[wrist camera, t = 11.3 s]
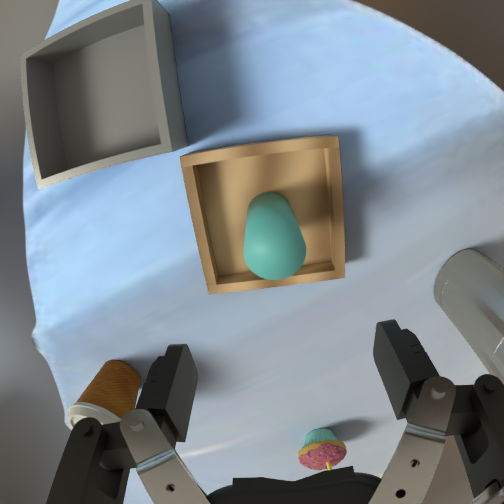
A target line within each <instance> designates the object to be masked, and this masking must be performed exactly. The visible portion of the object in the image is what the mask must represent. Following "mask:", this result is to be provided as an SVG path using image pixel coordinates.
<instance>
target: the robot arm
mask: <svg viewBox="0 0 504 504" xmlns="http://www.w3.org/2000/svg"><path fill="white" fill-rule="evenodd" d="M434 294H435V299H436V302H437V303H438V305H439V306H440V307H441V308H442V310H443V311H444V312H445V313H446V315H447V316H448V317H449V318H450V320H451V321H452V323H453V324H454V325H455V326H456V328H457V329H458V330H459V332H460V333H461V334H462V336H463V337H464V338H465V339H466V341H467V342H468V344H469V345H470V346H471V348H472V349H473V350H474V352H475V353H476V355H477V356H478V357H479V359H480V360H481V362H482V363H483V364H484V366H485V367H486V369H487V370H488V372H489V373H490V374H491V375H490V374H485V375H482V376H480V377H478V379H477V380H476V381H475V383H474V385H454V384H453V382H452V381H451V380H449V379H448V378H445V377H441V376H440V375H439V374H438V372H437V370H436V368H435V367H434V365H433V363H432V362H431V360H430V358H429V356H428V355H427V353H426V352H425V350H424V348H423V346H422V345H421V343H420V341H419V340H418V338H417V337H416V335H415V334H414V333H412V332H411V331H409V330H408V329H403V330H401V328H400V327H399V325H398V323H397V322H396V320H394V319H393V320H388V321H382V322H378V323H377V325H376V333H375V341H374V348H373V355H374V361H375V364H376V366H377V369H378V371H379V374H380V376H381V379H382V381H383V384H384V386H385V389H386V391H387V394H388V397H389V399H390V402H391V405H392V407H393V410H394V413H395V415H396V418H397V420H399V419H403V418H406V420H407V422H408V424H407V426H406V428H405V431H404V433H403V435H402V438H401V440H400V442H399V444H398V446H397V449H396V451H395V453H394V455H393V457H392V459H391V461H390V463H389V465H388V467H387V469H386V471H385V472H384V474H383V476H382V478H379V477H377V476H374V475H371V474H366V473H358V472H354V469H353V466H350V467H344V468H339V469H333V470H327V471H323V472H320V473H317V474H314V475H312V476H309V477H306V478H303V479H300V480H297V481H284V480H277V479H270V478H264V477H257V478H233V485H229V486H226V487H223V488H220V489H218V490H216V491H214V492H212V493H210V494H209V495H207V494H206V492H205V491H204V490H203V489H202V487H201V486H200V485H199V483H198V482H197V481H196V479H195V478H194V477H193V475H192V474H191V472H190V471H189V470H188V468H187V467H186V465H185V464H184V462H183V461H182V459H181V458H180V456H179V455H178V453H177V452H176V450H175V445H176V442H185V440H186V435H187V430H188V425H189V420H190V415H191V410H192V405H193V400H194V395H195V390H196V385H197V370H196V367H195V364H194V361H193V358H192V356H191V353H190V350H189V347H188V345H187V344H174V345H169V346H168V348H167V351H166V354H165V356H159V357H158V358H157V359H156V360H155V361H154V363H153V364H152V365H151V367H150V370H149V373H148V375H147V378H146V383H144V386H143V389H142V391H141V394H140V397H139V400H138V402H137V405H136V408H135V410H132V411H129V412H128V413H126V414H125V415H124V416H123V417H122V419H121V421H120V422H115V423H109V424H103V425H102V424H101V423H100V422H99V421H98V420H97V419H96V418H93V417H86V418H83V419H81V420H79V421H78V422H77V423H76V424H75V425H74V427H73V429H72V432H71V434H70V437H69V439H68V442H67V445H66V447H65V450H64V453H63V455H62V458H61V461H60V464H59V466H58V469H57V472H56V475H55V478H54V481H53V484H52V487H51V490H50V493H49V496H48V500H47V503H46V504H123V501H124V496H125V491H126V486H127V481H128V477H129V472H130V468H136V471H137V473H138V475H139V477H140V479H141V481H142V483H143V485H144V487H145V489H146V490H147V492H148V494H149V496H150V497H151V499H152V501H153V503H154V504H421V503H422V501H423V499H424V497H425V494H426V492H427V490H428V487H429V485H430V483H431V480H432V478H433V475H434V473H435V470H436V468H437V465H438V462H439V459H440V457H441V454H442V450H443V448H444V445H445V441H446V436H447V435H454V437H455V440H456V443H457V445H458V448H459V451H460V454H461V457H462V460H463V463H464V466H465V469H466V472H467V476H468V479H469V482H470V485H471V489H472V492H473V495H474V499H473V500H472V502H471V503H470V504H504V269H503V268H502V267H501V266H499V265H498V264H497V263H496V262H494V261H493V260H492V259H491V258H489V257H488V256H483V255H482V254H480V253H479V252H477V251H475V250H472V249H467V250H463V251H460V252H458V253H457V254H455V255H454V256H452V257H451V258H450V259H449V260H448V261H447V262H446V264H445V265H444V266H443V268H442V269H441V271H440V273H439V275H438V277H437V279H436V283H435V289H434Z"/></svg>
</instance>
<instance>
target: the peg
mask: <svg viewBox="0 0 504 504" xmlns="http://www.w3.org/2000/svg"><path fill="white" fill-rule="evenodd" d="M243 253H244V259H245V262H246V264H247V266H248V267H249V269H250V270H251V271H252V272H253V273H255V274H256V275H258V276H259V277H262V278H264V279H269V280H279V279H284V278H287V277H289V276H291V275H293V274H294V273H295V272H297V271H298V270H299V269H300V267H301V266H302V264H303V263H304V260H305V257H306V244H305V241H304V238H303V235H302V233H301V230H300V228H299V225H298V223H297V220H296V217H295V215H294V212H293V210H292V207H291V205H290V203H289V201H288V200H287V199H286V198H285V197H284V196H282V195H281V194H278V193H275V192H265V193H261V194H259V195H257V196H256V197H255V198H254V199H253V200H252V201H251V202H250V204H249V206H248V209H247V218H246V229H245V239H244V251H243Z"/></svg>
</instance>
